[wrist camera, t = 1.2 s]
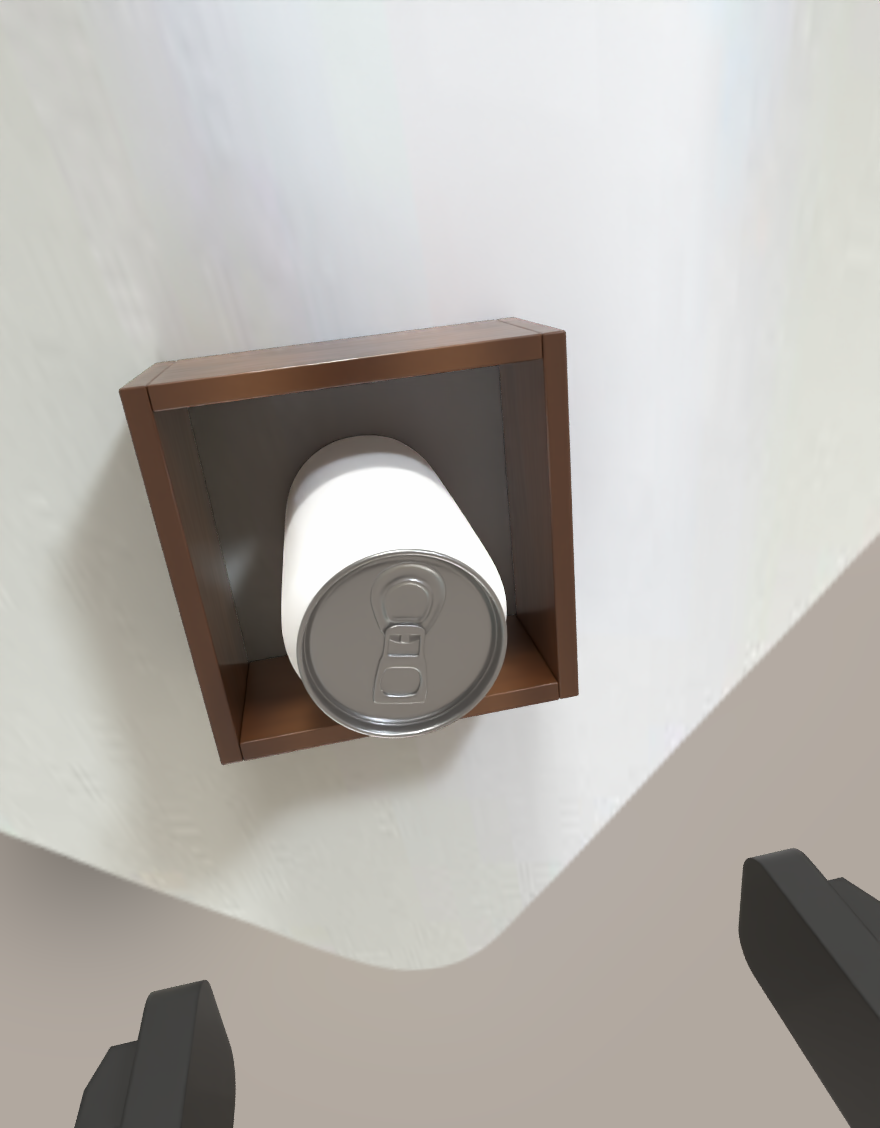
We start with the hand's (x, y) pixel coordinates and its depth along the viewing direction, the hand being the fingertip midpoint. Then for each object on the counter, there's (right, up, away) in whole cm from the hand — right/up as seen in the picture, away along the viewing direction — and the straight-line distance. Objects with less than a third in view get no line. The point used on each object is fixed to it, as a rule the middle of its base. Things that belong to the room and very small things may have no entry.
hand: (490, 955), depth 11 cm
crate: (-4, +8, +19) cm, 21 cm away
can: (-4, +8, +20) cm, 22 cm away
